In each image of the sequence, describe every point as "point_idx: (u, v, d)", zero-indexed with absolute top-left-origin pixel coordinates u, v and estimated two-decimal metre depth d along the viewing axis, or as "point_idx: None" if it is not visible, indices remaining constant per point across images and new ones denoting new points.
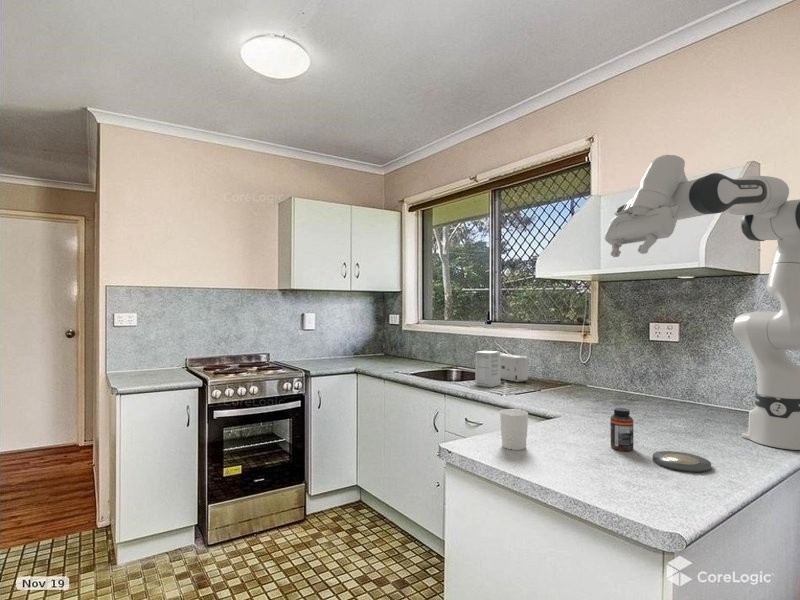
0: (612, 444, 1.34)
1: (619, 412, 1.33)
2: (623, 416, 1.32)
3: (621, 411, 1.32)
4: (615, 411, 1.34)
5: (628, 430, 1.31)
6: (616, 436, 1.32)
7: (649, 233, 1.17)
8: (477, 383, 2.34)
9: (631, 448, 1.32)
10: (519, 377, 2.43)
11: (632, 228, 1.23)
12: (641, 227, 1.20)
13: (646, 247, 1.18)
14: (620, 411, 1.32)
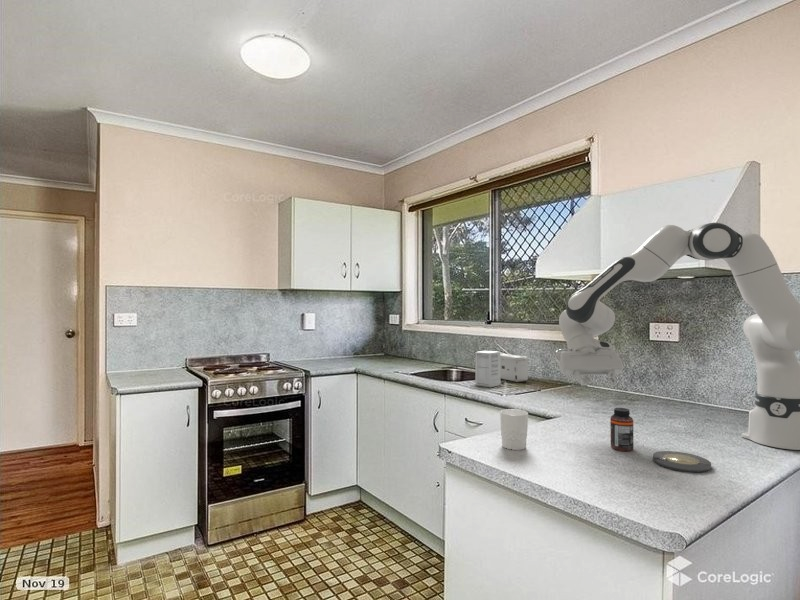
0: (612, 444, 1.34)
1: (619, 412, 1.33)
2: (623, 416, 1.32)
3: (621, 411, 1.32)
4: (615, 411, 1.34)
5: (628, 430, 1.31)
6: (616, 436, 1.32)
7: None
8: (477, 383, 2.34)
9: (631, 448, 1.32)
10: (519, 377, 2.43)
11: None
12: None
13: (580, 380, 1.47)
14: (620, 411, 1.32)
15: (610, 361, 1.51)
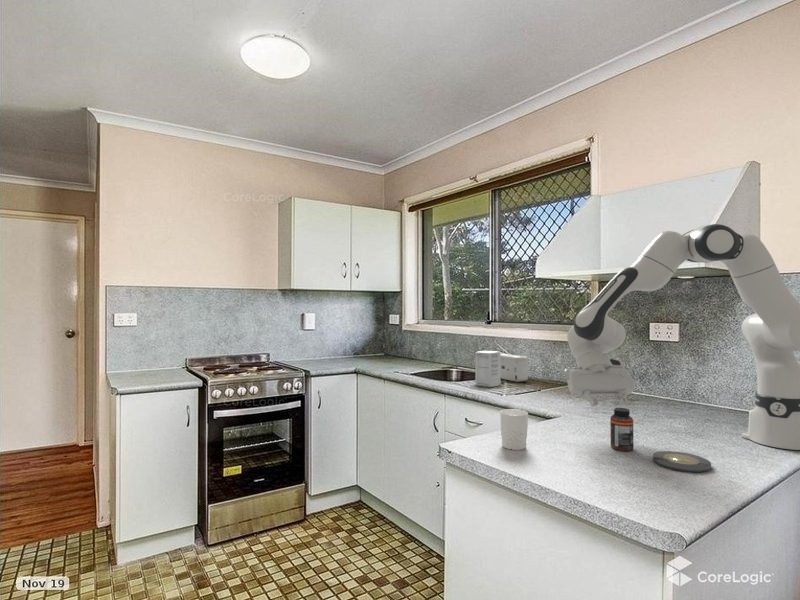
0: (612, 444, 1.34)
1: (619, 412, 1.33)
2: (623, 416, 1.32)
3: (621, 411, 1.32)
4: (615, 411, 1.34)
5: (628, 430, 1.31)
6: (616, 436, 1.32)
7: None
8: (477, 383, 2.34)
9: (631, 448, 1.32)
10: (519, 377, 2.43)
11: None
12: None
13: (590, 401, 1.41)
14: (620, 411, 1.32)
15: (621, 380, 1.45)
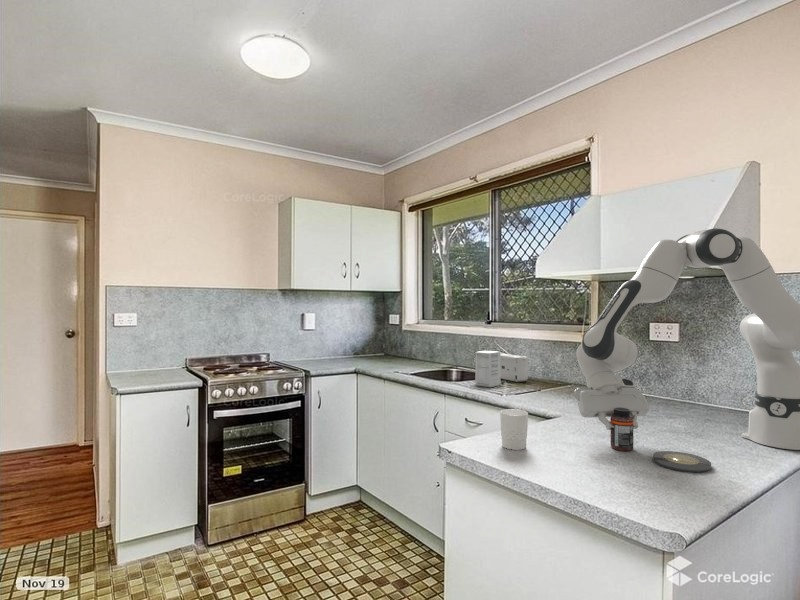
0: (612, 444, 1.34)
1: (619, 412, 1.33)
2: (623, 416, 1.32)
3: (621, 411, 1.32)
4: (615, 411, 1.34)
5: (628, 430, 1.31)
6: (616, 436, 1.32)
7: (595, 416, 1.37)
8: (477, 383, 2.34)
9: (631, 448, 1.32)
10: (519, 377, 2.43)
11: None
12: None
13: (606, 424, 1.34)
14: (620, 411, 1.32)
15: (634, 401, 1.38)
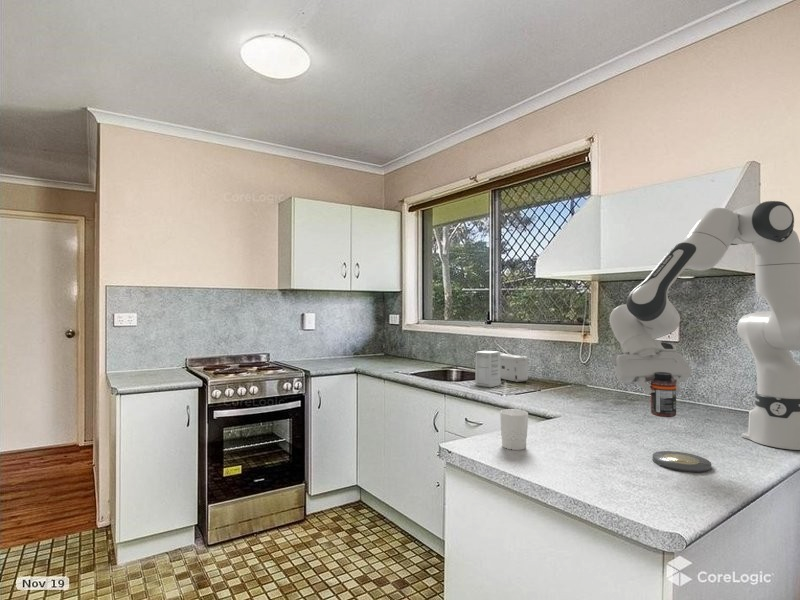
0: (653, 410, 1.25)
1: (660, 376, 1.24)
2: (664, 380, 1.23)
3: (663, 375, 1.24)
4: (656, 375, 1.25)
5: (671, 394, 1.23)
6: (658, 401, 1.24)
7: (633, 382, 1.28)
8: (477, 383, 2.34)
9: (674, 414, 1.23)
10: (519, 377, 2.43)
11: None
12: None
13: (646, 389, 1.25)
14: (662, 375, 1.24)
15: (675, 365, 1.30)
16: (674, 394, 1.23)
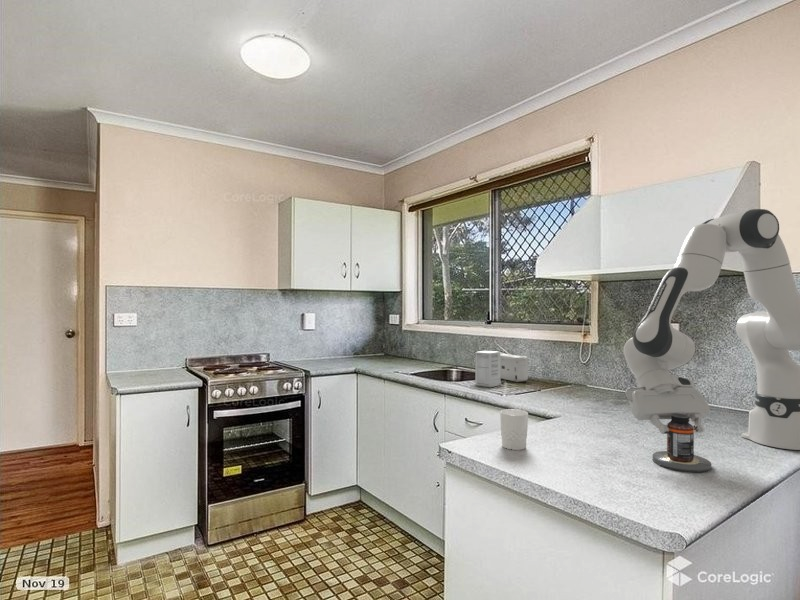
0: (670, 454, 1.21)
1: (678, 419, 1.20)
2: (682, 423, 1.19)
3: (680, 418, 1.20)
4: (673, 418, 1.21)
5: (689, 438, 1.19)
6: (675, 445, 1.20)
7: None
8: (477, 383, 2.34)
9: (692, 459, 1.19)
10: (519, 377, 2.43)
11: None
12: None
13: (660, 427, 1.21)
14: (679, 418, 1.20)
15: (693, 402, 1.26)
16: (692, 438, 1.19)
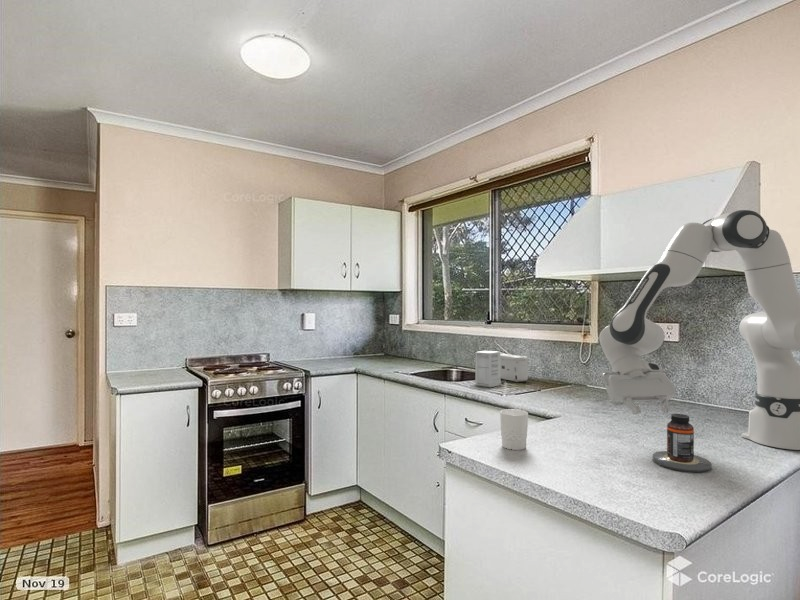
0: (670, 454, 1.21)
1: (678, 419, 1.20)
2: (682, 423, 1.19)
3: (680, 418, 1.20)
4: (673, 418, 1.21)
5: (689, 438, 1.19)
6: (675, 445, 1.20)
7: None
8: (477, 383, 2.34)
9: (692, 459, 1.19)
10: (519, 377, 2.43)
11: None
12: None
13: (633, 408, 1.34)
14: (679, 418, 1.20)
15: (661, 385, 1.39)
16: (692, 438, 1.19)
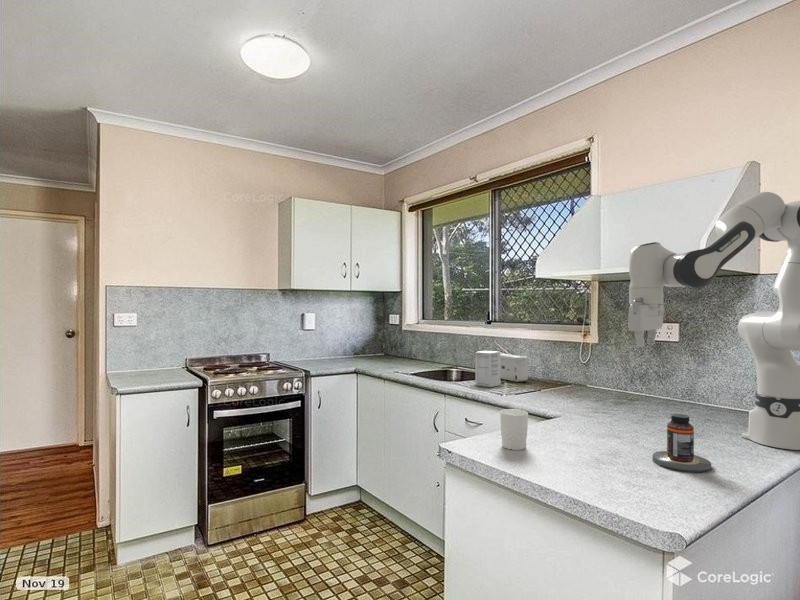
0: (670, 454, 1.21)
1: (678, 419, 1.20)
2: (682, 423, 1.20)
3: (680, 418, 1.20)
4: (673, 417, 1.21)
5: (689, 438, 1.19)
6: (675, 445, 1.20)
7: None
8: (477, 383, 2.34)
9: (692, 459, 1.19)
10: (519, 377, 2.43)
11: None
12: None
13: (639, 341, 1.33)
14: (679, 418, 1.20)
15: (658, 319, 1.40)
16: (692, 438, 1.19)
